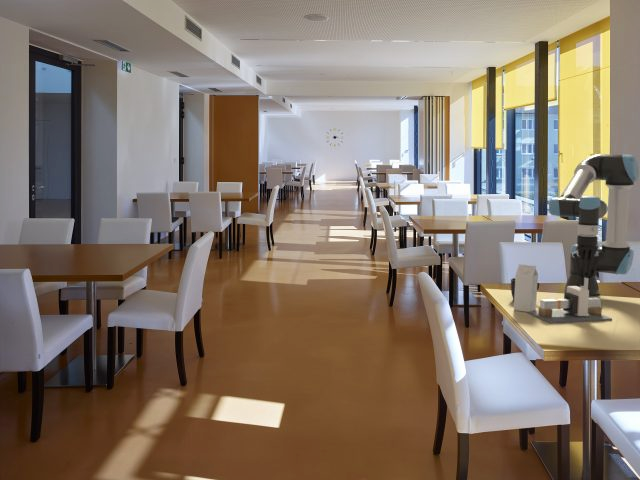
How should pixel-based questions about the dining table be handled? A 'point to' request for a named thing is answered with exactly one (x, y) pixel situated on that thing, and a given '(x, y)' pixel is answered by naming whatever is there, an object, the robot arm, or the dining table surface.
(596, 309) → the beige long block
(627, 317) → the dining table surface
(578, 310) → the sleeve
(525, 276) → the milk carton
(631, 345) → the dining table surface
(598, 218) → the robot arm
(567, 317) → the board
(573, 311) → the ring
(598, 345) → the dining table surface
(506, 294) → the dining table surface
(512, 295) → the mug
